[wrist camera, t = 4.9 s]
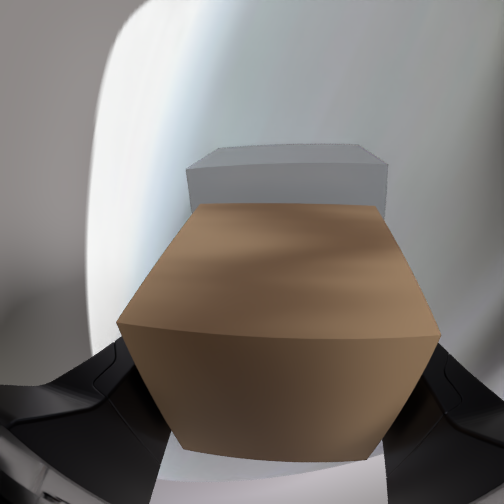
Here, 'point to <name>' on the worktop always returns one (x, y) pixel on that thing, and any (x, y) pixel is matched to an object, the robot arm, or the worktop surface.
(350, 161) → the grey block
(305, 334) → the brown wooden cube
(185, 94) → the worktop surface
